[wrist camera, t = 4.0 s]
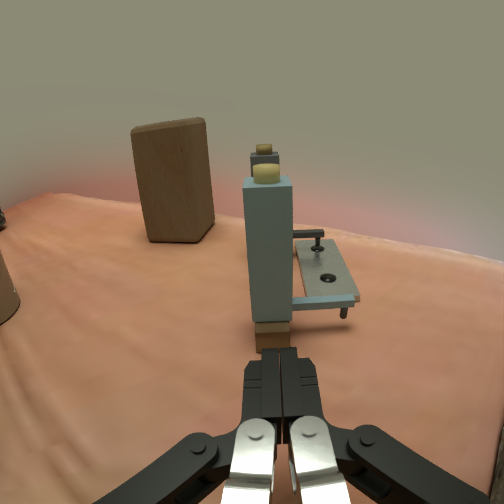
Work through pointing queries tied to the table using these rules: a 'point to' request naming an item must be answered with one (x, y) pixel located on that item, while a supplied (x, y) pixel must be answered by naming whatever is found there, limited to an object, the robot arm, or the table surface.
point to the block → (174, 179)
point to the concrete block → (499, 476)
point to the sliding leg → (275, 249)
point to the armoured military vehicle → (2, 218)
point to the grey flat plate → (324, 269)
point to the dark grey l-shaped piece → (279, 331)
